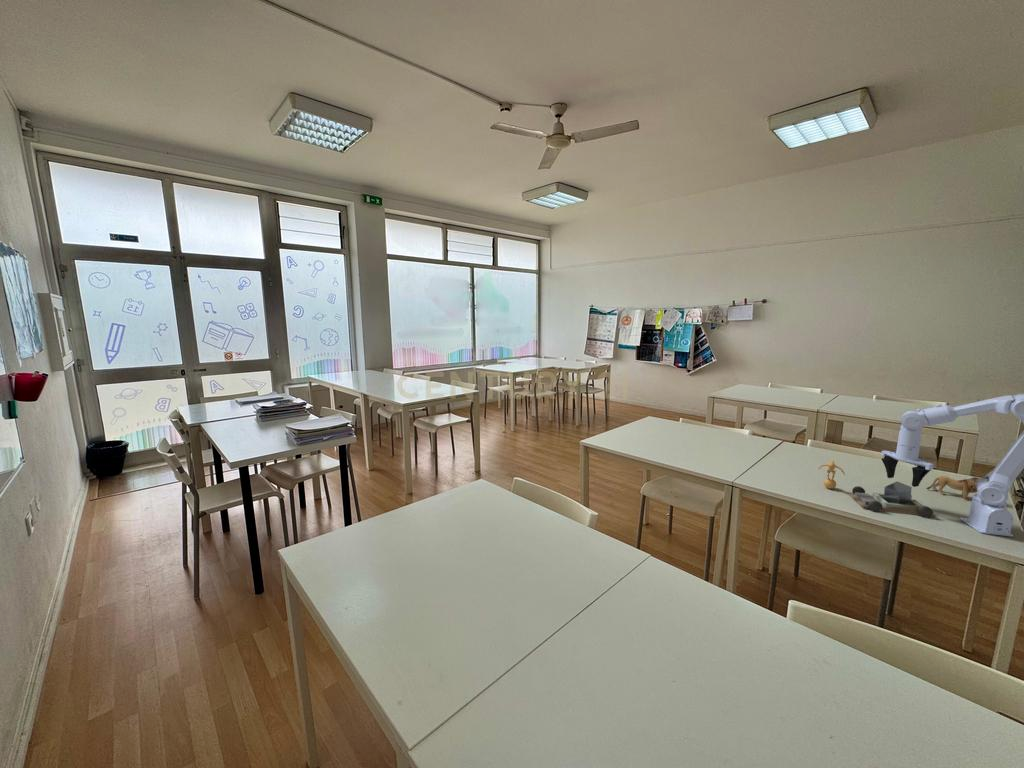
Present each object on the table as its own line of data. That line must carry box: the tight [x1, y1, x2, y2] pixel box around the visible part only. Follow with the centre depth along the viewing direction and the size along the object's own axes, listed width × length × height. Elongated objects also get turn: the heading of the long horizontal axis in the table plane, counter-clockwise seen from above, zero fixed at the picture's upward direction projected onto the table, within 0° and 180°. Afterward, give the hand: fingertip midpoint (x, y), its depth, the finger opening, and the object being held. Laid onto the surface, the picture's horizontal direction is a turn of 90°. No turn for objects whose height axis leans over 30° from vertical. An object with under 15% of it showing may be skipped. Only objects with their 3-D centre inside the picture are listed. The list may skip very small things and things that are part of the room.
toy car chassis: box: [848, 485, 936, 518], centre depth 149 cm, size 13×20×4 cm
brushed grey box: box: [883, 481, 913, 504], centre depth 148 cm, size 4×6×6 cm
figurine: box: [818, 460, 845, 490], centre depth 162 cm, size 8×6×12 cm
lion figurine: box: [925, 475, 982, 502], centre depth 156 cm, size 15×5×9 cm, turn 45°
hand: (902, 481), depth 147 cm, fingers open, 7 cm apart
